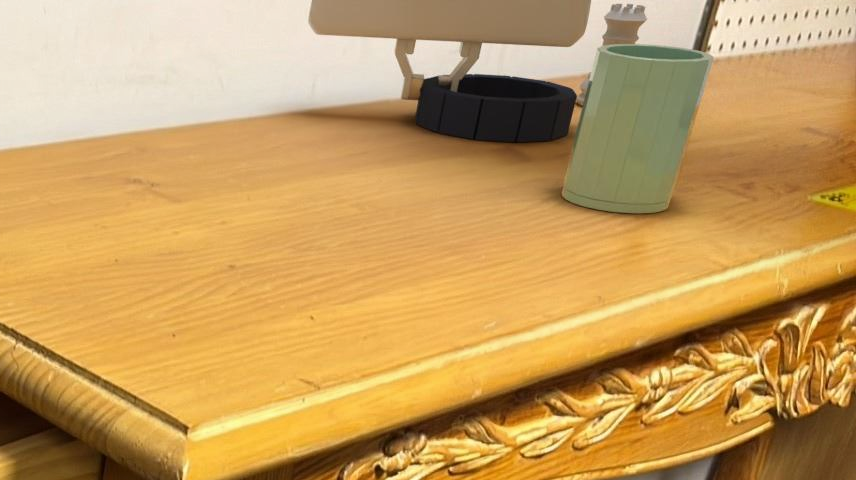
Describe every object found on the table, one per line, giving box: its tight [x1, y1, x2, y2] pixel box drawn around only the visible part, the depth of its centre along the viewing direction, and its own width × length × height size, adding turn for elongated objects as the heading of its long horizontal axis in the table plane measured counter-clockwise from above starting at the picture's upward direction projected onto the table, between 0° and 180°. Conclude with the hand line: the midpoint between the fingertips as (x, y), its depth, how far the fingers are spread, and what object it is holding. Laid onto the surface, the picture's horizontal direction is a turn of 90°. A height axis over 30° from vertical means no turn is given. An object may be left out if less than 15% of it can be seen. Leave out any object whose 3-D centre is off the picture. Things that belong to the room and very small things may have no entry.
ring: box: [414, 73, 578, 144], centre depth 96 cm, size 11×11×3 cm
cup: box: [561, 43, 715, 215], centre depth 76 cm, size 6×6×9 cm
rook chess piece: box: [576, 3, 648, 107], centre depth 102 cm, size 4×4×8 cm
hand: (427, 100), depth 97 cm, fingers closed on ring
